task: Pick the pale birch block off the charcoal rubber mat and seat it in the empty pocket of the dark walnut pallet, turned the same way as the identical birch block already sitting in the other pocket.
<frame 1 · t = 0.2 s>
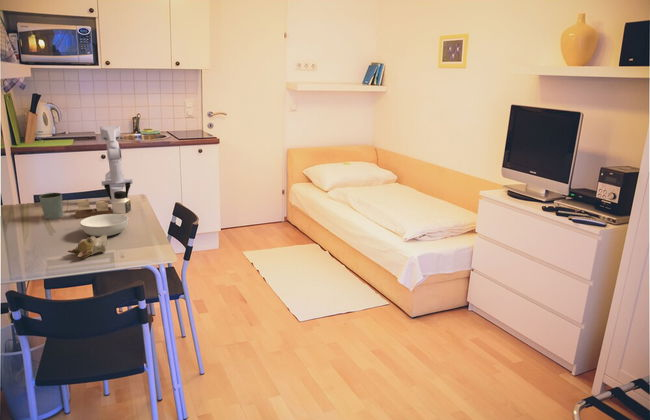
hand: (118, 198, 264), 10 cm above the table, fingers open, 7 cm apart
medicine bottle: (122, 213, 272), on the table
serving bowl: (106, 234, 241), on the table
birch block: (84, 211, 273), resting on charcoal mat
ceramic sculpture: (90, 255, 215), on the table
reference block: (103, 213, 269), resting on walnut pallet
charcoal mat: (84, 212, 273), on the table
green cylindrical pot: (53, 218, 263), on the table
walnut pallet: (94, 216, 267), on the table
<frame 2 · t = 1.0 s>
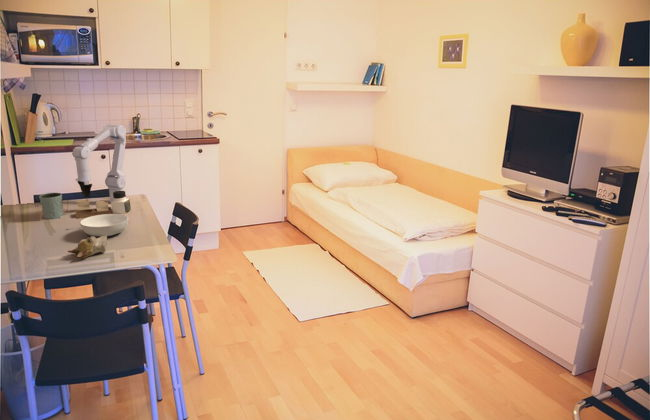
hand: (86, 195, 269), 9 cm above the table, fingers open, 7 cm apart
nothing on the table moved.
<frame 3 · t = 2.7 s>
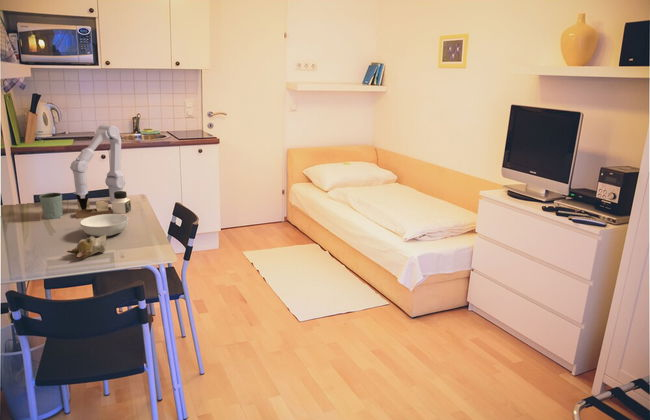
hand: (83, 208, 272), 2 cm above the table, fingers closed on birch block, 4 cm apart
birch block: (84, 211, 273), resting on charcoal mat, touching gripper
everything else where it was.
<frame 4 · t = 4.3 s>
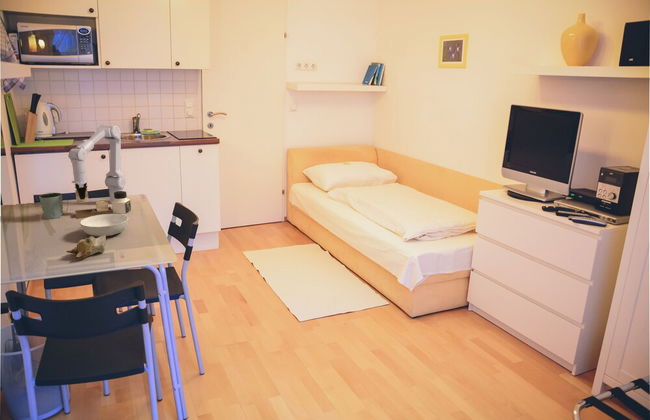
hand: (82, 198, 265), 9 cm above the table, fingers closed on birch block, 4 cm apart
birch block: (82, 201, 266), point 7 cm above the table, touching gripper
everything else where it was.
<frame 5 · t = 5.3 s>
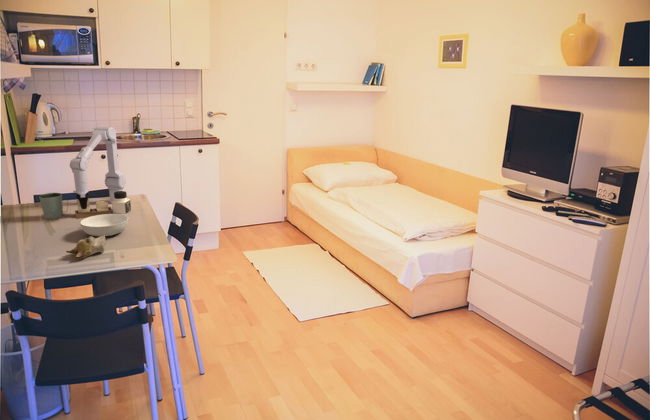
hand: (84, 207, 264), 5 cm above the table, fingers closed on birch block, 4 cm apart
birch block: (84, 211, 264), point 3 cm above the table, touching gripper
everything else where it was.
when the fingers open (4 cm above the table, at t = 5.9 s): birch block drops 1 cm, resting on walnut pallet.
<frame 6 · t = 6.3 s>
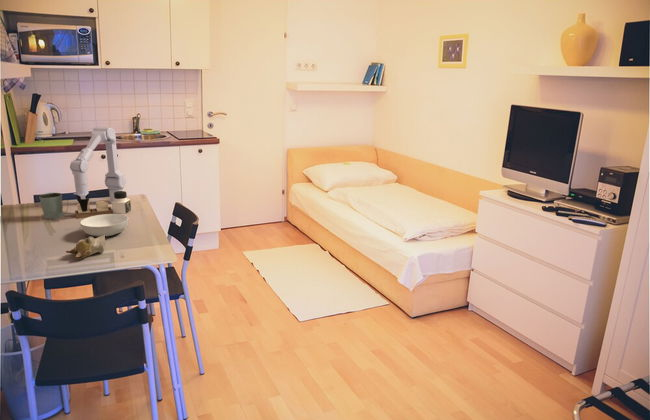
hand: (84, 209, 264), 4 cm above the table, fingers open, 7 cm apart
birch block: (84, 215, 265), point 1 cm above the table, touching walnut pallet
everything else where it was.
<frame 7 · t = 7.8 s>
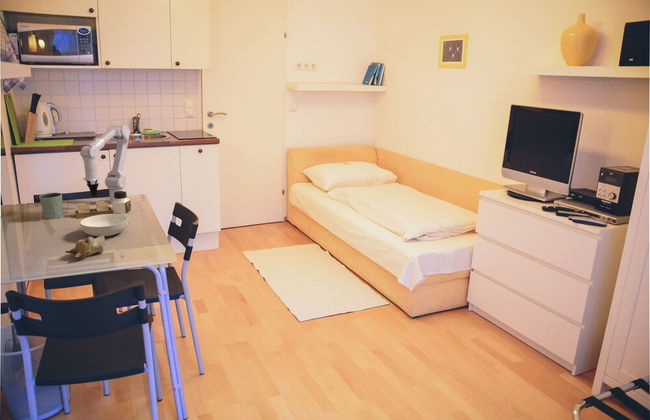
hand: (93, 194, 272), 9 cm above the table, fingers open, 7 cm apart
nothing on the table moved.
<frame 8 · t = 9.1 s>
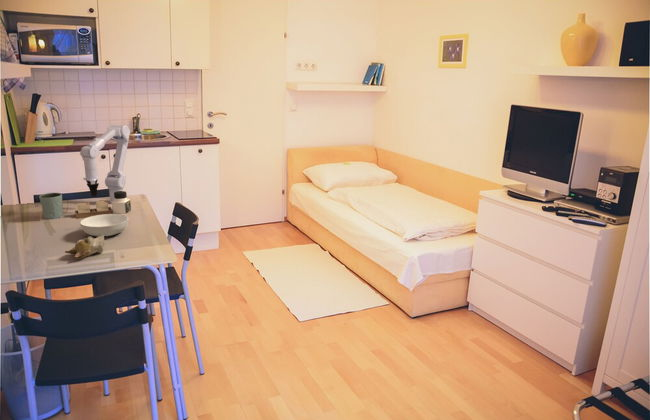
hand: (93, 194, 272), 9 cm above the table, fingers open, 7 cm apart
at the end: birch block 0.2 cm from the target spot on the walnut pallet, point 1.0 cm above the walnut pallet's base; birch block tilted 0°; the gripper is holding nothing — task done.
